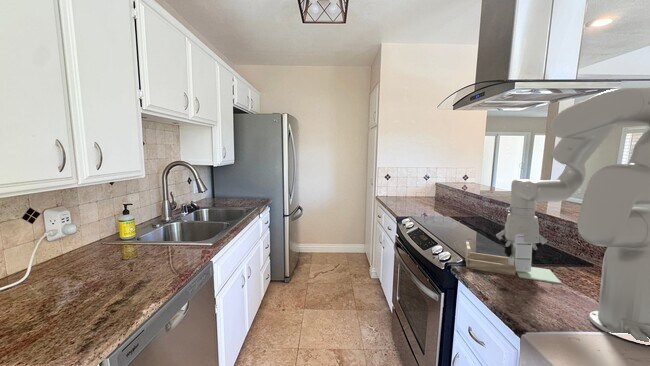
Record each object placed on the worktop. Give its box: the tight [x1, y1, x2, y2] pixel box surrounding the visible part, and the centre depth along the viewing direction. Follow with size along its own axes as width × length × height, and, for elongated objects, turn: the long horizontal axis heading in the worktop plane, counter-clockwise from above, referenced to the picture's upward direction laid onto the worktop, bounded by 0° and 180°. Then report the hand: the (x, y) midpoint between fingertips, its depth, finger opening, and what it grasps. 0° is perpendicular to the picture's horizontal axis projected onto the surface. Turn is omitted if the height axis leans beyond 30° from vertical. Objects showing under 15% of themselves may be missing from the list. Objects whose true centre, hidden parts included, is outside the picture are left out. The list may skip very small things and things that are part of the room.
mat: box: [515, 266, 562, 285], centre depth 96 cm, size 12×12×1 cm
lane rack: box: [464, 241, 517, 276], centre depth 103 cm, size 10×16×8 cm, turn 64°
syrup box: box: [507, 234, 533, 272], centre depth 98 cm, size 6×6×14 cm
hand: (519, 256), depth 98 cm, fingers closed on syrup box, 6 cm apart
